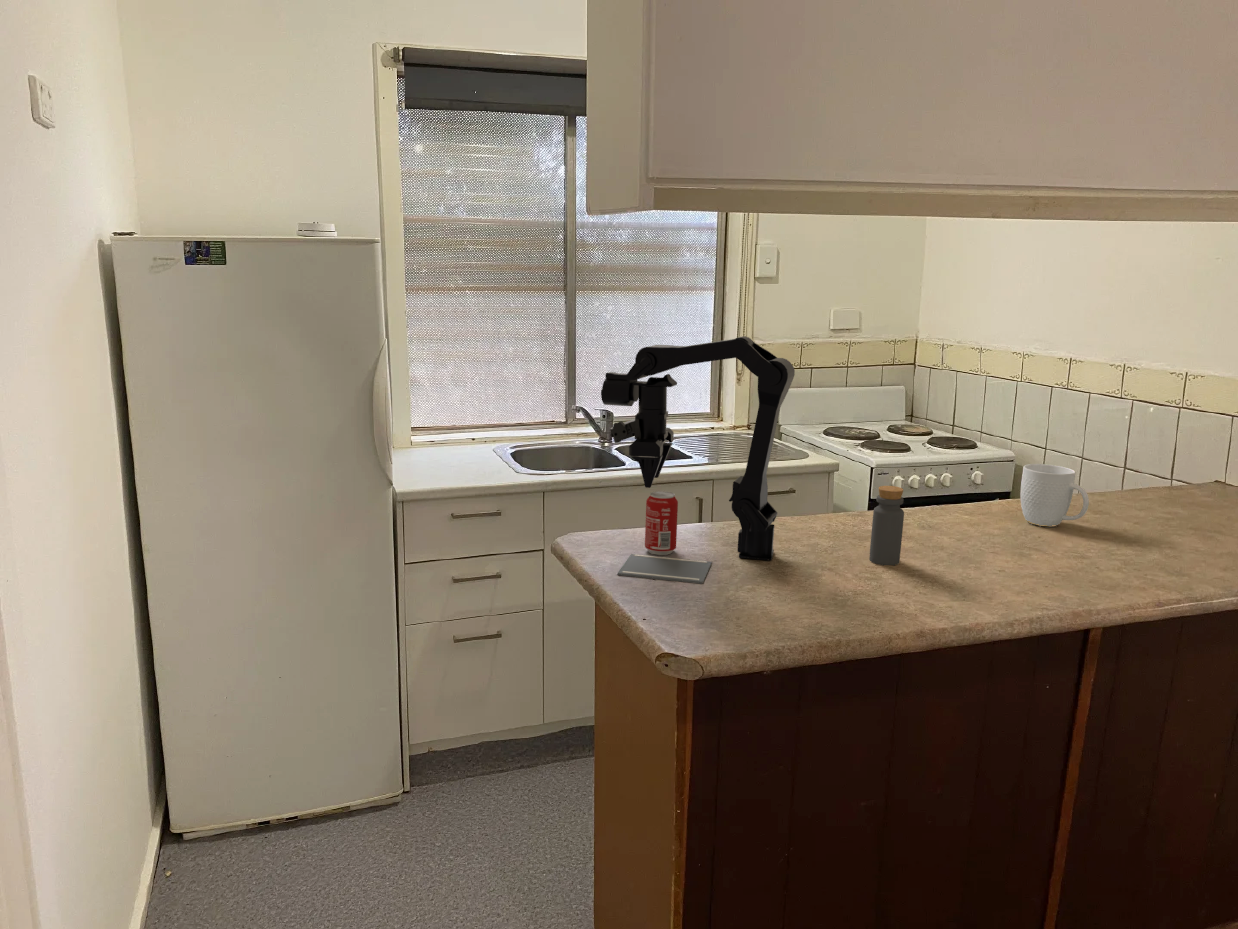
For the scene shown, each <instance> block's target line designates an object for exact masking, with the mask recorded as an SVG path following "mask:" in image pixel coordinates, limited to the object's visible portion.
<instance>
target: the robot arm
mask: <svg viewBox="0 0 1238 929" xmlns="http://www.w3.org/2000/svg"><path fill="white" fill-rule="evenodd" d="M634 359H635V360H634V361H635V362H634V364H633V365H632V366H631V368H630V369H629V370H628V372H627V373H621V372H620V373H619V372H615V371H608V372H606V373H605V379H603V380H604V381H603V383H602V387H601V391H600V397H601V398H600V399H601V401H602V404H603V405H604V406H618V407H619V406H620V407H632V406H633V405H634V403H635V402H638V412H637V413H636V414H635V416H634V418H633V419H630V420H628V421H625V422H623V421H622V420H620V421H618V422H614V423H613V425H612V427H610V437H612V439H613V441H614V443H615V444H617V443H621V442H622V441H624V440H627V439H630V438H634V441H633V442H632V443H631V444H630V445H628V455H629V456H630V458H632V459H633V460H635V461H636V462H637V464H639V469H640V472H641V475H642V479H643V480H642V481H643V482H644V487H645V488H647V489H648V488H651V487H652V485H653V482H654V480H655V479H657V478H659V476H660V474H661V471H662V469H663V467H664V465H665V462H666V460H667V458H668V455H669V452H670V450H671V448H672V446H673V442H674V438H675V437H674V435H675V434H674V431H673V430H672V429H671V427H667V418H668V417H669V411H668V410H667V405H668V404H667V403H668V401H667V399H668V398H667V397H668V388H672V387H675V386H677V385H678V382H677V381H676V380H675V379H674V378H672V376H671V374H670V373H667V374H664V376H663V377H657V376H654V375H657V374H660V373H663V372H666V371H669V370H672V369H676V368H678V367H682V366H686V365H693V364H700V363H701V364H702V363H707V362H714V361H715V362H716V361H722V360H729V359H737V360H739V361H740V362H741V363H742V364H743V365H744V367H745V368H746V369H747V370H748V371H750V372H751V373H752V374H753V375H754V376H756V377H757V397H758V410H757V414H756V419H755V424H754V427H753V434H752V439H751V444H750V448H749V453H748V457H747V461H746V468H745V473H744V475H740V476H739V477H737V478H736V479H735V480H734V481H733V482H732V494H731V496H730V498H729V499H728V501H729V502H731V510H732V512H733V514H734V516H735V517H737V519H738V520H739V524H740V527H741V529H739V531H738V533H737V534H738V536H737V537H738V538H737V553H739V554H738V558H740V559H749V560H757V561H758V560H760V561H772V560H773V557H774V552H775V550H774V537H775V536H774V535H775V524H773V523H774V522H775V520H776V519H777V516H778V512H777V510H776V509H775V508H774V507H773V505H772V504H771V503H770V502H769V501H768V494H769V493H768V492H769V491H768V489H769V488H768V479H767V476H768V475H767V474H768V473H767V472H768V467H769V463H770V459H771V453H772V449H773V445H774V440H775V435H776V430H777V425H778V421H779V417H780V416H779V415H780V412H781V407H782V405H783V403H784V400H785V399H786V396H787V394H788V393H789V390H790V388H791V386H792V382H793V381H794V378H795V375H796V373H795V366H794V364H792V363H791V362H790V361H789V360H788V359H786V358H784V357H777V356H776V355H775V354H773V353H772V352H770V351H768V349H766V348H764V347H762V346H761V345H759V344H758V343H757V342H755V341H754V340H752V339H751V338H750V337H749V336H745V335H743V336H742V335H741V336H739V337H736V338H730V339H726V340H725V339H724V340H719V341H711V342H705V343H696V344H689V345H673V344H672V345H671V344H654V345H650V346H645V347H642V348H640V349H639V350H638V351H637V353H636V355H635V358H634ZM648 376H649V378H648V379H647V380H646V381H645V380H644V381H642V380H639V379H643V378H647V377H648ZM650 376H651V377H650ZM653 376H654V377H653ZM666 441H668V442H666Z"/></svg>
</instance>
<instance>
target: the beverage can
mask: <svg viewBox="0 0 1238 929" xmlns="http://www.w3.org/2000/svg"><path fill="white" fill-rule="evenodd" d="M645 501H646V502H645V528H644V529H645V532H644V548H645V549H646V550H647V551H648V553H650V554H652V555H654V556H667V555H671V554H672V553H673V551H675V550H676V549H677V535H678V534H677V533H678V532H677V531H678V513H679V512H678V510H679V501H678V499H677V498H676V494H675V493H674V492H673V491H668V490H656V491H651V492H650V493H649V496H648V497H647V499H646V500H645Z"/></svg>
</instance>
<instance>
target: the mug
mask: <svg viewBox="0 0 1238 929" xmlns="http://www.w3.org/2000/svg"><path fill="white" fill-rule="evenodd" d="M1075 478H1076V471H1075V470H1074V469H1071V468H1069V467H1065V466H1061V465H1055V464H1046V463H1029V464H1028V463H1027V464H1025V465H1023V467H1022V475H1021V483H1020V495H1019V496H1020V506H1021V512H1022V515H1023V518H1024V519H1025V521H1026V520H1027V521H1030V522H1032V523H1035V524H1039V525H1047V526H1052V525H1058V524H1059V525H1060V524H1061V523H1062V522H1063V521H1075V520H1079V519H1081V518H1082V517H1084V516H1085V514H1086V513H1087V512H1088V509H1089V505H1090V504H1089V503H1090V500H1089V495H1088V493H1087V490H1086V489H1084V487H1082V486H1081V485H1080V484H1079V485H1078V484H1076V483H1075V482H1076V481H1075ZM1074 490H1076V491H1078V492H1079V493H1080V494H1081V496H1082V502H1083V503H1082V504H1083V505H1082V509H1081V511H1080V512H1078V514H1075V515H1071V516H1070V515H1067V513H1068V511H1069V509H1070V506H1071V503H1072V499H1073V494H1074ZM1027 521H1026V522H1027ZM1059 525H1058V526H1059Z"/></svg>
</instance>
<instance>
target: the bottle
mask: <svg viewBox="0 0 1238 929" xmlns="http://www.w3.org/2000/svg"><path fill="white" fill-rule="evenodd" d="M903 493H904V489H903V488H902V487H900V486H896V485H895V486H894V485H881V486H879V487H878V495H877V496H876V498H875V499H876V503H878V505H877V506H876V507H875V506H874V508H873V512H872V513H873V514H872V524H871V534H870V546H869V556H868V557H869V562H871V563H873V564H876V565H879V566H884V565H893V566H896V565H895V564H897V565H899V564H900V559H901V550H902V541H903V540H902V539H903V530H904V519H905V511H904V510H903V509H902V508H901V507H900V506H901V505H903V504H904V501H905V500H904V499H905V498H903V497H902V496H903Z"/></svg>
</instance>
